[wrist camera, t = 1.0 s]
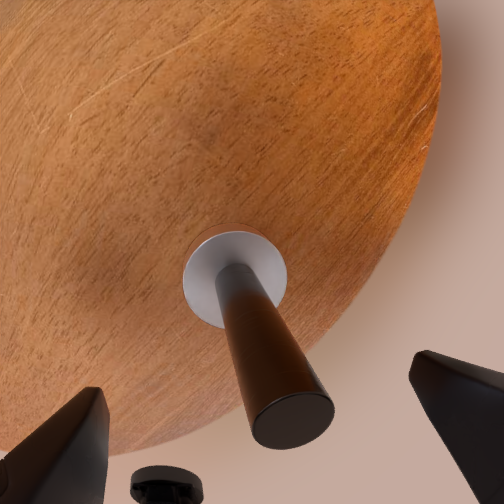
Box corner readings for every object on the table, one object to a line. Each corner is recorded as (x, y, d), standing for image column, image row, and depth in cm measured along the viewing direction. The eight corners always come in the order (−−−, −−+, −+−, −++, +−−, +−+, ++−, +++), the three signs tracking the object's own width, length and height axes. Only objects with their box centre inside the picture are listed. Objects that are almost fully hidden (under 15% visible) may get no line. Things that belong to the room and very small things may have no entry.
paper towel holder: (274, 309, 18) (364, 459, 8) (185, 314, 17) (195, 489, 7) (278, 221, 17) (411, 318, 6) (181, 223, 16) (170, 343, 5)
